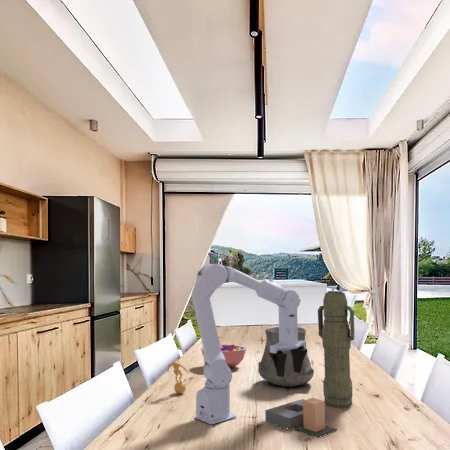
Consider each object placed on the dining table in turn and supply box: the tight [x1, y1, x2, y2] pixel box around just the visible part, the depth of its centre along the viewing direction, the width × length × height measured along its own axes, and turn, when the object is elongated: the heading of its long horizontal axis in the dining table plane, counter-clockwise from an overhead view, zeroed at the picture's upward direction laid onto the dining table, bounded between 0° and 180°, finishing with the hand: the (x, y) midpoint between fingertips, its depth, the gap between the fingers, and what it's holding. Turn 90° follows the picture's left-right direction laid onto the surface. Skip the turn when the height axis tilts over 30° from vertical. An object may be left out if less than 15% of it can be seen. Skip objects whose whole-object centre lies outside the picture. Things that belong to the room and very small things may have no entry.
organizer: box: [264, 398, 328, 430], centre depth 128 cm, size 16×9×3 cm, turn 130°
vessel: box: [257, 326, 315, 387], centre depth 167 cm, size 22×22×20 cm
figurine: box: [166, 358, 189, 395], centre depth 154 cm, size 8×6×12 cm
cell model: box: [200, 344, 247, 368], centre depth 194 cm, size 17×20×11 cm
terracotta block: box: [303, 397, 326, 432], centre depth 120 cm, size 4×4×7 cm
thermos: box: [317, 290, 355, 408], centre depth 144 cm, size 9×12×35 cm
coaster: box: [293, 424, 338, 438], centre depth 119 cm, size 8×8×1 cm
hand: (289, 374), depth 137 cm, fingers open, 7 cm apart
